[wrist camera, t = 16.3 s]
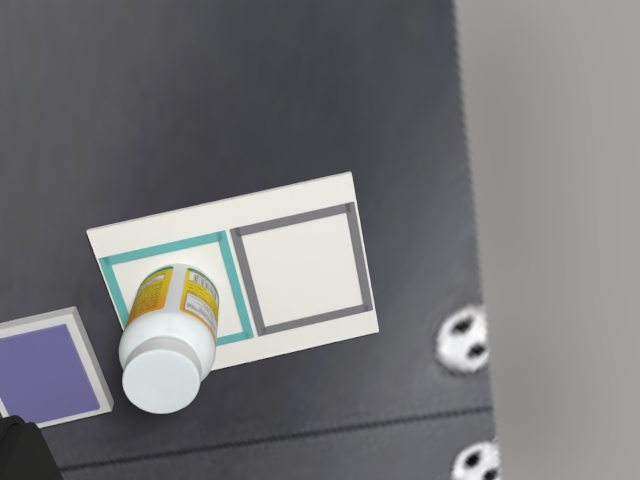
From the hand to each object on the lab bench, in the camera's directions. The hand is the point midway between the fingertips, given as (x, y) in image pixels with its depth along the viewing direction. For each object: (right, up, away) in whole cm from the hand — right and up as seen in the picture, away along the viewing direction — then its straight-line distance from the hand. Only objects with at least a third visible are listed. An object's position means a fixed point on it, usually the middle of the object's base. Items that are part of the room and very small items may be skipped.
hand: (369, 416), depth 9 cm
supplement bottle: (-10, -1, +32) cm, 34 cm away
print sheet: (-6, 0, +32) cm, 33 cm away
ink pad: (-20, -6, +33) cm, 39 cm away
